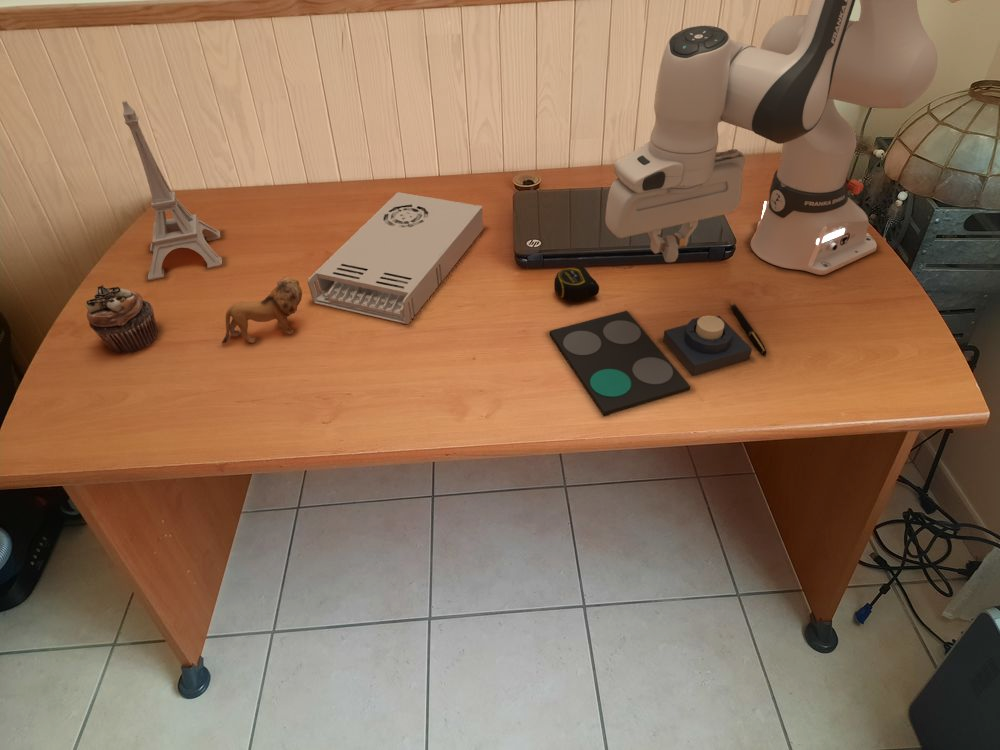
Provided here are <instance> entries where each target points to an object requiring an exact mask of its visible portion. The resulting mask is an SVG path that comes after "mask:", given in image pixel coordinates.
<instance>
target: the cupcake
mask: <svg viewBox="0 0 1000 750" xmlns="http://www.w3.org/2000/svg"><path fill="white" fill-rule="evenodd" d="M85 307H86V310H87V312H86V318H87V321H88V324H89V327H90V328H91V329H92V330H93V331H94V332H95V334H96V335H97V336H98V337H99V338H100V339H101V341H103V343H105V345H106V346H107V347H108V348H109V349H110V350H111V351H113V352H114V353H115V352H116V353H117V354H129V353H135V352H137V351H141V350H143V349H145V348H147V347H148V346H150V345H151V344H152V343H153V342H154V341H155V340H156V338H157V337H158V334H159V330H158V326H157V323H156V318H155V312H154V306H153V305H152V304H151V302H149V301H148V300H146V299H143V297H142V295H141V294H140V293H138V292H137V291H133V290H128V289H125V288H121V287H119V286H116V287H114V286H113V287H110V288H108V287H104V285H103V284H102V285H99V286H97V289H96V294H95V295H94V298H91V299H89V300H86V302H85Z"/></svg>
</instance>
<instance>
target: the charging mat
mask: <svg viewBox="0 0 1000 750" xmlns="http://www.w3.org/2000/svg"><path fill="white" fill-rule="evenodd" d="M549 336H550V338H551V339H552V341H553V342H554V343H555V345H556V346H557V348H558V350H559V351H560V352H561V354H562V355H563V357H564V359H565V360H566V361H567V363H568V364H569V366H570V368H571V369H572V370H573V372H574V373H575V375H576V376H577V378H578V380H579V381H580V382H581V384H582V385H583V387H584V388H585V390H586V391H587V393H588V394H589V396H590V397H591V398H592V401H593V402H594V403H595V405H596V406H597V407H598V409H599V411H600V412H601V414H602V415H603V416H608V415H610V414H615V413H617V412H621V411H624V410H627V409H631V408H634V407H638V406H641V405H644V404H648V403H651V402H654V401H658V400H661V399H665V398H668V397H672V396H674V395H678V394H681V393H684V392H688V391H690V390H691V385H690V384H689V383H688V382H687V381H686V379H685V378H684V377H683V375H681V373H680V372H679V371H678V370H677V368H675V366H674V365H673V364H672V363H671V362H670V360H669V359H668V357H666V355H665V354H664V353H663V352H662V351H661V350H660V348H659V347H658V346H657V345H656V343H655V342H654V341H653V340H652V339H651V338H650V336H649V335H648V334H647V333H646V331H644V329H643V328H642V327H641V325H640V324H639V323H638V322H637V321H636V320H635V318H634V317H633V316H632V315H631V313H630V312H629V311H628V310H624V311H619V312H616V313H612V314H608V315H605V316H600V317H597V318H593V319H590V320H586V321H582V322H577V323H573V324H570V325H566V326H562V327H559V328H555V329H551V330H549Z"/></svg>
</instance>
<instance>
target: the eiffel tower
mask: <svg viewBox="0 0 1000 750" xmlns="http://www.w3.org/2000/svg"><path fill="white" fill-rule="evenodd" d="M121 103H122V107H123V113H122V115H123V116H122V117H123V118H124V124H125V125H127V126H128V128H129V130H130V133H131V135H132V138H133V140H134V142H135V143H134V144H135V145H136V148H137V151H138V155H139V157H140V160H141V164H142V167H143V170H144V173H145V176H146V180H147V183H148V187H149V191H150V195H151V207H152V208H153V209H154V215H155V216H154V217H155V218H154V219H155V221H153V229H152V230H153V231H152V240H151V241H152V242H151V243H150V247H149V248H150V252H151V253H152V257H151V263H150V268H149V271H148V274H147V275H148V276H147V280H148V281H149V282H150V281H154V280H158V279H159V280H160V279H164V278H165V269H164V268H163V262H164V260H165V258H166V256H168V254H169V253H170V252H172V251H173V250H177V249H181V248H182V249H183V248H184V249H190V250H192V251H195V252H196V253H197V254H199V255H200V256H201V257H202V258H203V260H204V261H205V262H206V267H207V269H214V268H218V267H222V266H223V258H222V256H219V255H218V254H217V253H216V252H215V250H214V249H213V248H212V247H211V246H210V245H209V243H208V242H211V241H214V240H220V239H221V231H220V230H219V229H216V228H215V227H212V226H211V225H210V224H208V223H206V222H204V221H202V220H200V219H199V218H198V214H197V213H195V214H194V213H193V214H192V213H191V212H190V211H188V209H187V208H186V207H185V206H184V205H183V204H182V203H181V202H180V200H179V199H178V198H177V197H176V196H177V195H176V193H177V192H176V191H172V189H171V188H170V186H169V184H168V183H167V180H166V179H165V177H164V175H163V173H162V171H161V169H160V168H159V165H158V163H157V161H156V159H155V157H154V156H153V153H152V151H151V149H150V146H149V144H148V142H147V140H146V138H145V135H144V134H143V131H142V129H141V127H140V124H139V116H138V115H137V113H136V110H135V109H134V108H133V107H131V106H130V104H129V102H128V101H127V100H122V102H121ZM167 211H169V212H170V213H171V215H172V217H173V218H167V216H166V212H167Z"/></svg>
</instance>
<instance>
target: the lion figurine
mask: <svg viewBox="0 0 1000 750" xmlns="http://www.w3.org/2000/svg"><path fill="white" fill-rule="evenodd" d="M276 284H277V286H276V287H274V289H273V290H271V292H270V293H269V294H268V295H267V296H266V297H265V299H261V300H258V301H251V302H248V301H246V302H245V301H238V302H235V303H233V304H232V305H230V306H229V307H228V308H227V309H226V313H225V336H224V337H223V339H222V341H221V344H226V343H227V342H228V341H229V338H230V335H231V336H232V337H238V336H239V335H241V337H242V338H244V339H245V340H246V341H247V342H248V343H249V344H255V343H257V339H256V337H253V336H252V337H251V336H249V334H248V328H249V322H248V321H249V320H250V321H254V322H257V323H266V322H270V321H273V320H274V321H275V320H276V321H277V324H278V325H279V326H280V327H281V329H282V331H283V332H284V334H285V335H288V336H289V335H292V334H293V333H294V330H293V328H289V321H288V318H289V317H290V316H291V315H293V314H295V313H296V312H297V310H298V306H299V305H300V303H301V301H302V296H303V290H302V287H301V286H300V281H299V279H296V278H294V277H290V276H285V277H283V278H281V279H279V280H277V281H276ZM236 327H238V328H239V330H240V331H239V330H235V329H236Z"/></svg>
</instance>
